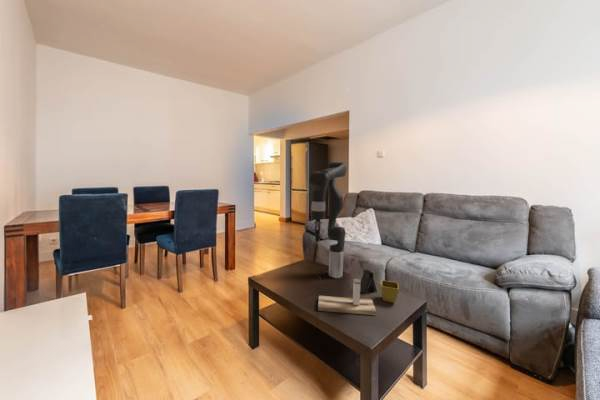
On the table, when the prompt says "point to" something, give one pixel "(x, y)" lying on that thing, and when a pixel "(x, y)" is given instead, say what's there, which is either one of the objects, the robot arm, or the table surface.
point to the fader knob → (356, 291)
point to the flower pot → (389, 291)
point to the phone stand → (367, 283)
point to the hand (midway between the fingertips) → (317, 241)
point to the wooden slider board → (346, 305)
